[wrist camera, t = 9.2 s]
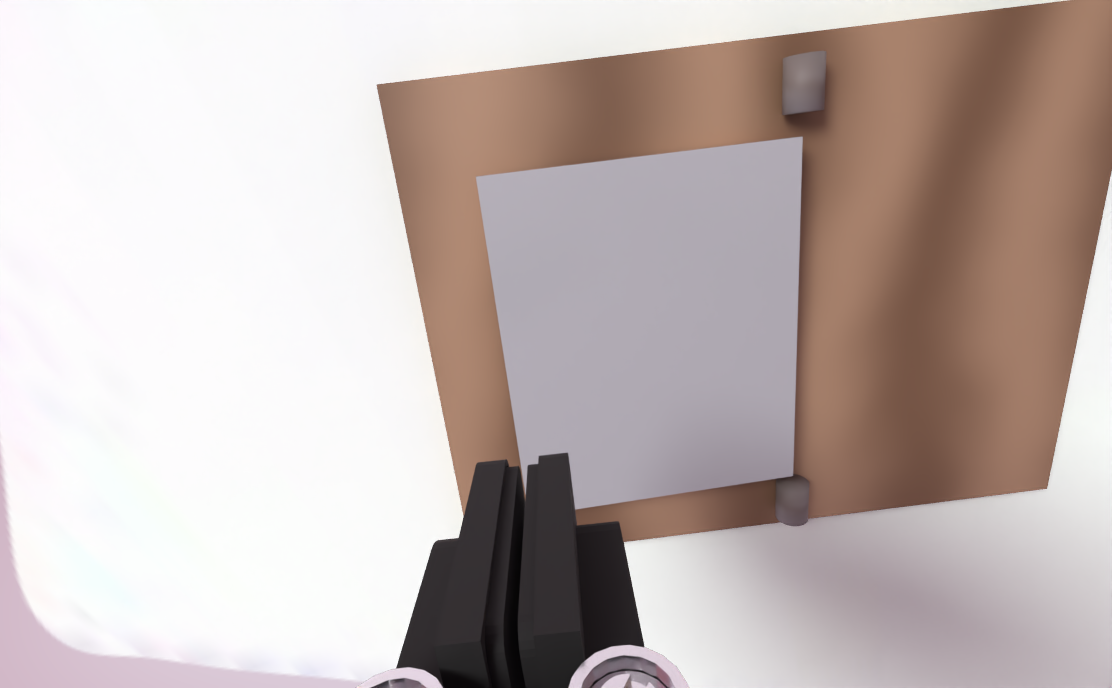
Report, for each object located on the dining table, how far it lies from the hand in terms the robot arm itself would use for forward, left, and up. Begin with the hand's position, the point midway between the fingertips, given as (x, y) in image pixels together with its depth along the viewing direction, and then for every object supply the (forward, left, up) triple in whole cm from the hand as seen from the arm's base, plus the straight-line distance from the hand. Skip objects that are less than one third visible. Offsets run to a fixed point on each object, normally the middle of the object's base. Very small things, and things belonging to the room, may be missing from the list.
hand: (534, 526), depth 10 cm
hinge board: (-8, 0, -11) cm, 14 cm away
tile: (-4, 0, -9) cm, 10 cm away
